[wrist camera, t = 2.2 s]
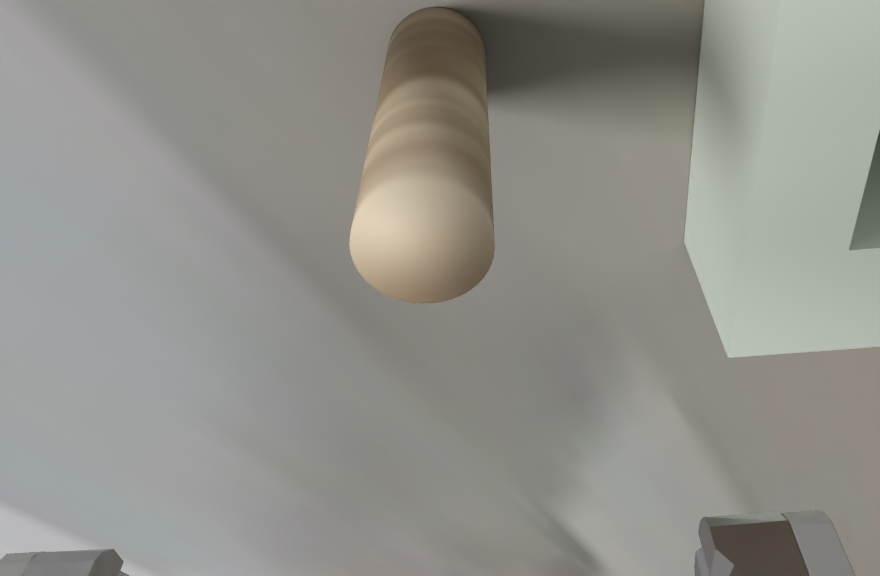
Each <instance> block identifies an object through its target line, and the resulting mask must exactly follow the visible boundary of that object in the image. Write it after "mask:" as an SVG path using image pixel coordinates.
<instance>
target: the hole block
mask: <svg viewBox="0 0 880 576" xmlns="http://www.w3.org/2000/svg"><path fill="white" fill-rule="evenodd" d="M879 130H880V0H705V2H704V14H703V26H702V38H701V49H700V61H699V73H698V84H697V96H696V108H695V120H694V131H693V143H692V155H691V166H690V178H689V190H688V202H687V213H686V225H685V237H684V242H685V245H686V248H687V250H688V253H689V256H690V258H691V261H692V264H693V266H694V269H695V272H696V274H697V277H698V279H699V282H700V285H701V287H702V290H703V293H704V295H705V298H706V301H707V303H708V306H709V309H710V311H711V314H712V317H713V319H714V322H715V324H716V327H717V330H718V332H719V335H720V338H721V340H722V343H723V346H724V348H725V351H726V354H727V356H728V358H732V357H745V356H759V355H772V354H786V353H800V352H813V351H827V350H840V349H854V348H867V347H880V131H879Z"/></svg>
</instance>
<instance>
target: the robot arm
mask: <svg viewBox="0 0 880 576" xmlns="http://www.w3.org/2000/svg"><path fill="white" fill-rule="evenodd" d="M698 533H699V537H700V541H701V545H702V547H701V548H700V549H699V550H697V551H696V554H695V566H694V568H695V576H856V575H855V573H854V571H853V569H852V566H851V564H850V562H849V559H848V557H847V555H846V553H845V550H844V548H843V546H842V544H841V541H840V539H839V537H838V535H837V532H836V530H835V528H834V525H833V523H832V521H831V519H830V518H829V517H828V516H827V515H826V514H825V513H824V512H822V511H819V510H816V511H801V512H786V513H779V512H771V513H757V514H743V515H728V516H714V517H703V518H702V519H701V521H700V525H699V531H698ZM123 562H124V561H123V560H122V559H121V558H120V556H119V555H118V554H117V553H116V552H115V550H114V549H101V550H81V551H60V552H29V553H13V554H6V555H5V556H4V557H3V558H2V559H1V560H0V576H129V575H127V574H125V573H124V572H122V571H120V570H121V567H122V564H123Z"/></svg>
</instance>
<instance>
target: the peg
mask: <svg viewBox="0 0 880 576" xmlns="http://www.w3.org/2000/svg"><path fill="white" fill-rule="evenodd" d="M494 250H495V247H494V224H493V204H492V184H491V164H490V143H489V123H488V103H487V83H486V62H485V48H484V43H483V40H482V37H481V35H480V33H479V31H478V30H477V28H476V27H475V26H474V24H473V23H472V22H471V21H470V20H469V19H468V18H466V17H465V16H463V15H462V14H460V13H458V12H456V11H454V10H451V9H447V8H441V7H431V8H425V9H421V10H418V11H416V12H414V13H412V14H410V15H409V16H407V17H406V18H405V19H403V20H402V21H401V22H400V23H399V25H398V26H397V27H396V29H395V30H394V32H393V34H392V36H391V39H390V42H389V47H388V51H387V56H386V61H385V66H384V71H383V76H382V81H381V86H380V91H379V96H378V101H377V106H376V110H375V115H374V120H373V125H372V130H371V135H370V140H369V145H368V150H367V155H366V160H365V165H364V169H363V174H362V179H361V184H360V189H359V194H358V199H357V204H356V209H355V214H354V219H353V224H352V228H351V234H350V252H351V256H352V259H353V262H354V264H355V266H356V268H357V270H358V271H359V272H360V274H361V275H362V277H363V278H364V279H365V280H366V281H367V282H368V283H369V284H371V285H372V286H373V287H374V288H376V289H377V290H379V291H380V292H382V293H384V294H386V295H388V296H390V297H393V298H395V299H398V300H402V301H406V302H412V303H437V302H443V301H447V300H450V299H453V298H456V297H458V296H460V295H462V294H465V293H466V292H468V291H469V290H471V289H472V288H473V287H475V286H476V285H477V284H478V283H479V282H480V281H481V280H482V279H483V278H484V276H485V275H486V273H487V272H488V270H489V268H490V266H491V264H492V260H493V257H494Z"/></svg>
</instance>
